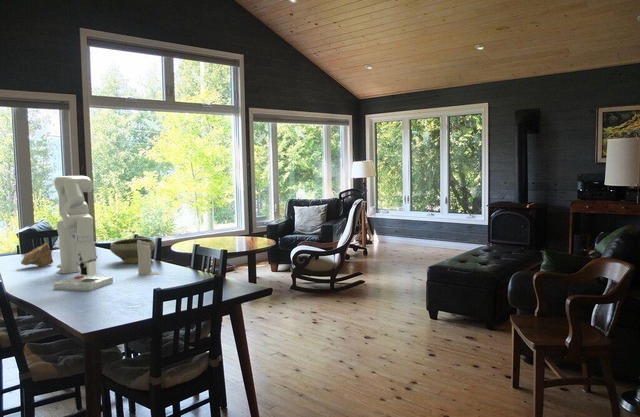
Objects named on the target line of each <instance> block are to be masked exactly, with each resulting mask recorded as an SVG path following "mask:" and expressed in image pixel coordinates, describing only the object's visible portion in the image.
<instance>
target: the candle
mask: <svg viewBox="0 0 640 417" xmlns="http://www.w3.org/2000/svg"><path fill="white" fill-rule="evenodd" d="M137 251H138V262H137V267H138V268H137V269H138V275H141V276H143V275H144V276H145V275H146V276H153V275H161V274H162V272H159V271H152V262H151V261H152V260H151V258H152V251H151V250H150V245H149V243H146V241H141V240H137Z"/></svg>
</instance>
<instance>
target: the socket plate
mask: <svg viewBox="0 0 640 417" xmlns="http://www.w3.org/2000/svg"><path fill="white" fill-rule="evenodd" d="M113 279H114V277H113V276H94V275H92V276H80V274H79V275H77V276H73V277H70V278H67V279H64V280H60V281H58V282H53V283H52V284H53V285H52V286H53V290H61V291H62V290H63V291H80V292H81V291H83V292H92V291H94V290H97V289H99V288H102V287H105V286H108V285H110V284H113V283H114V280H113Z"/></svg>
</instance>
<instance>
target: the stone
mask: <svg viewBox="0 0 640 417" xmlns="http://www.w3.org/2000/svg"><path fill="white" fill-rule="evenodd" d="M23 256H24V257H23V258H22V260H21V261H20V264H21V265H24V266H30V265H33V266H34V265H35V266H38V267H43V266H44V267H45V266H49V265H52V264H54V259H53V255H52V250H51V249H50V247H49V243H47V242H44V243H43V244H42V245H40V246H37V247H35V248H33V249H32V250H31V251H29V252H27V253H25V254H24V255H23Z"/></svg>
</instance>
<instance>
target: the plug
mask: <svg viewBox="0 0 640 417" xmlns="http://www.w3.org/2000/svg"><path fill="white" fill-rule="evenodd" d="M96 262H97V261H86V267H87V275H81V267H80V266H79V269H80V271H79V275H80V276H94V275H97V266H96V265H97V264H96ZM83 264H84V263H83Z"/></svg>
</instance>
